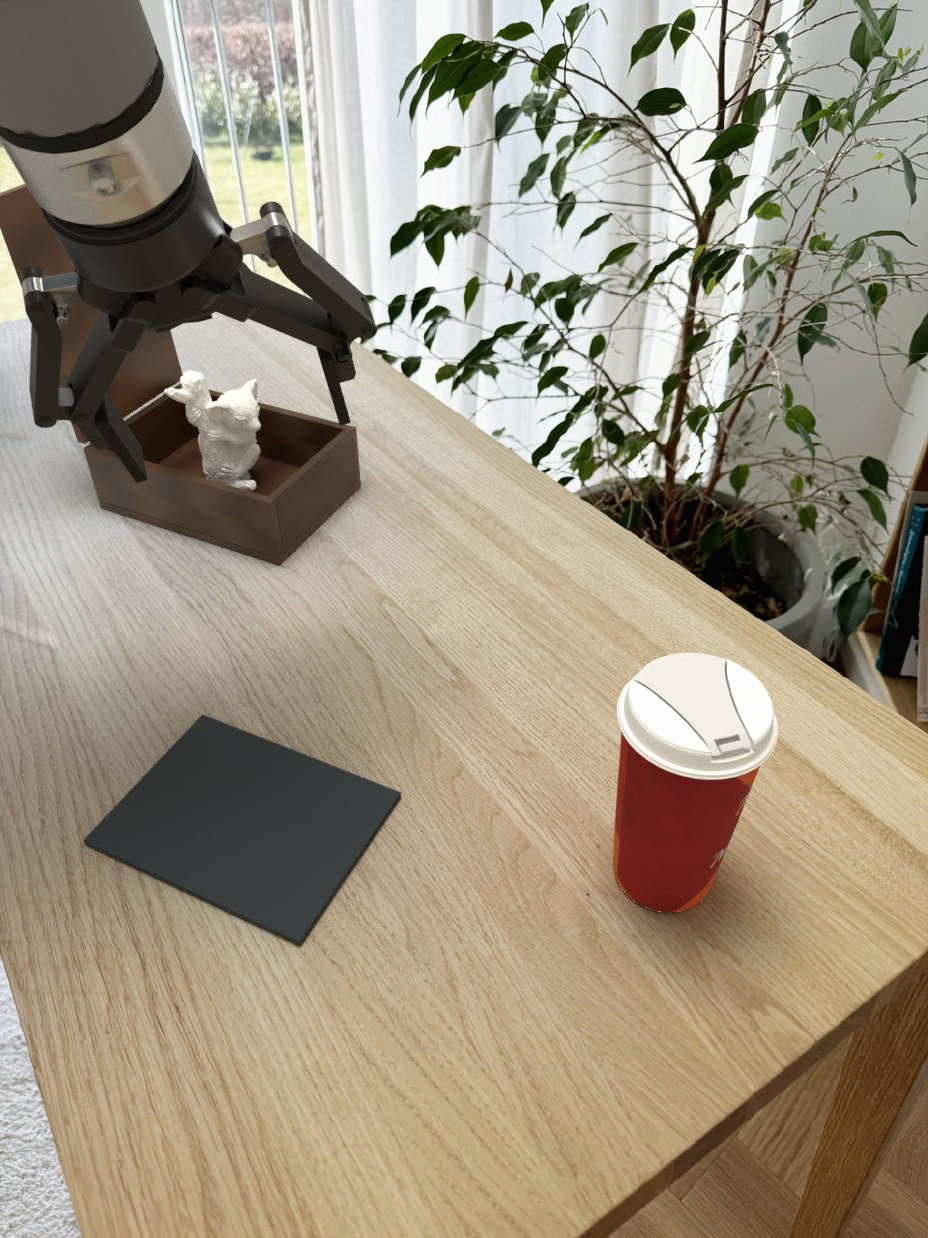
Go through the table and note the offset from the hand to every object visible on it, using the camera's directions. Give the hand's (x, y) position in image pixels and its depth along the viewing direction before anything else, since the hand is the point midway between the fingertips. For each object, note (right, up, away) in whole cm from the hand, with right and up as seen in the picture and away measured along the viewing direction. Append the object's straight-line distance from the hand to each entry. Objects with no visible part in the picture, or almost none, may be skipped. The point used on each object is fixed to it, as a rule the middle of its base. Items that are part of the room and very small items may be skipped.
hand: (240, 436), depth 64 cm
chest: (-7, -1, +27) cm, 27 cm away
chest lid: (-16, +15, +19) cm, 29 cm away
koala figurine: (-7, 0, +26) cm, 27 cm away
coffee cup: (+27, -28, -4) cm, 39 cm away
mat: (+1, -25, -1) cm, 25 cm away
